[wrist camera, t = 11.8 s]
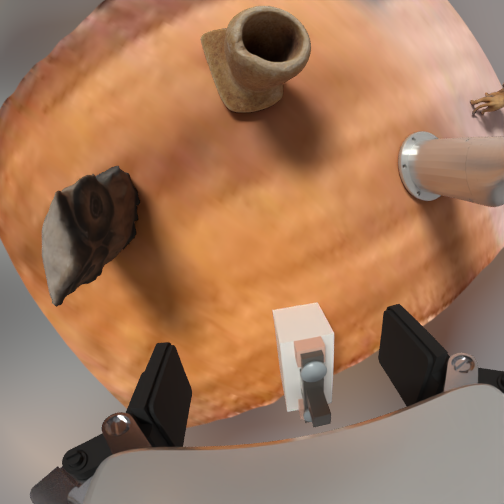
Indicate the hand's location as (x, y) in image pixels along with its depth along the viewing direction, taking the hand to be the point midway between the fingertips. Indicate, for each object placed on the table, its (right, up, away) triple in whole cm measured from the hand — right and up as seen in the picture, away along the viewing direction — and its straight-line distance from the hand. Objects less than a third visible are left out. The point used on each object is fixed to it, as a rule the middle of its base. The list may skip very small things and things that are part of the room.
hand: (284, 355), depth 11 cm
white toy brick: (+7, -13, +38) cm, 41 cm away
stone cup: (-2, +33, +24) cm, 41 cm away
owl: (-25, +12, +30) cm, 40 cm away
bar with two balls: (+8, -16, +28) cm, 33 cm away
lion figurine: (+50, +38, +24) cm, 68 cm away
